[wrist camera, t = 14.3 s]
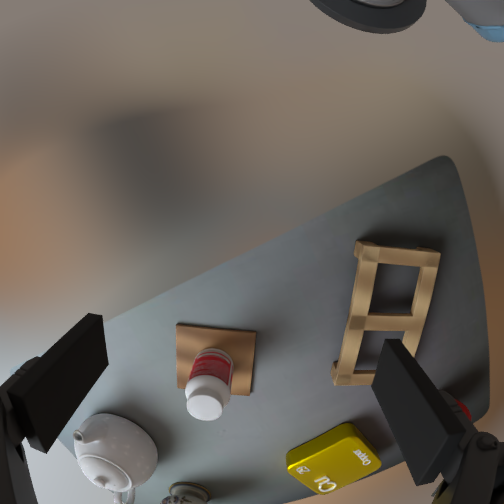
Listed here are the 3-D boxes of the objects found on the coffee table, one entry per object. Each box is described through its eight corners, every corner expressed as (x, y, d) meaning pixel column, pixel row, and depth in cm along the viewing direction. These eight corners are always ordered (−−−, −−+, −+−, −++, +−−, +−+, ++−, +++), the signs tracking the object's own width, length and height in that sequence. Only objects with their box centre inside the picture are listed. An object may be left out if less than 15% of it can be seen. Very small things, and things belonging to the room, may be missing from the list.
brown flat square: (176, 323, 47) (175, 325, 47) (256, 331, 47) (256, 333, 47) (178, 386, 50) (177, 388, 49) (249, 393, 50) (249, 396, 49)
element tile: (379, 452, 54) (385, 467, 49) (319, 483, 56) (321, 498, 51) (349, 418, 51) (355, 435, 47) (281, 453, 53) (282, 471, 49)
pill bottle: (188, 351, 47) (173, 394, 37) (226, 342, 47) (218, 386, 36) (203, 382, 49) (191, 428, 38) (239, 375, 48) (235, 421, 38)
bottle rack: (355, 240, 44) (363, 245, 40) (429, 248, 44) (440, 253, 41) (330, 373, 49) (334, 385, 45) (397, 372, 49) (405, 383, 46)
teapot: (71, 432, 54) (46, 472, 41) (99, 392, 51) (69, 439, 38) (140, 477, 57) (125, 520, 43) (181, 445, 53) (167, 497, 40)
